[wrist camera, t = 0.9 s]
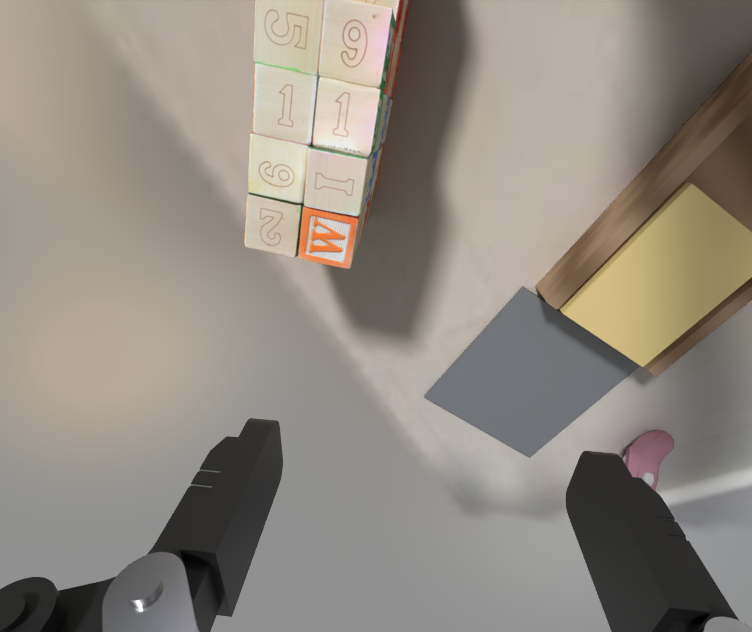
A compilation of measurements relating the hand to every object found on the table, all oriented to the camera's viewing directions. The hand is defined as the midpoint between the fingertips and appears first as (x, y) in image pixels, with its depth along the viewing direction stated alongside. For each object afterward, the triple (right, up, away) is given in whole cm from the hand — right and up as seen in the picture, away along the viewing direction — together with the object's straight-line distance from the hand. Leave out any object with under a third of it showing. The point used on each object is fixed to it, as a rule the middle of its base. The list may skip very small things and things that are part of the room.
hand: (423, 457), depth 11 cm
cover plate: (+21, +7, +22) cm, 31 cm away
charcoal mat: (+14, -3, +29) cm, 32 cm away
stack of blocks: (-3, +22, +18) cm, 28 cm away
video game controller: (+26, -12, +33) cm, 44 cm away
